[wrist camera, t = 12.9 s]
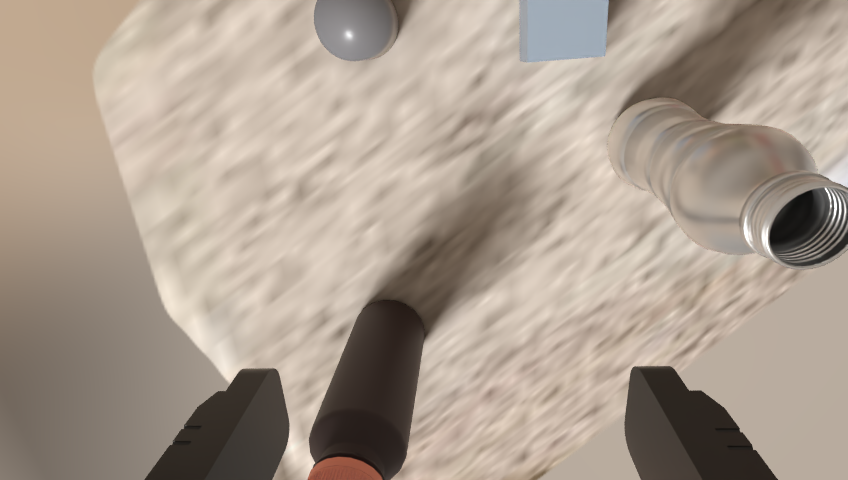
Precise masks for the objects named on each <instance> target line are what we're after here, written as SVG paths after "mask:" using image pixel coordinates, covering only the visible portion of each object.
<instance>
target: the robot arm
mask: <svg viewBox="0 0 848 480" xmlns="http://www.w3.org/2000/svg"><path fill="white" fill-rule="evenodd" d="M739 429H740V428H739V427H738V426H737V424H736V423H735V422H734V420H733V419H732V418H731V416H730V415H729V414H728V412H727V411H726V410H725V408H724V407H722V406H721V405H720V404H718V403H717V402H716V401H714V400H713V399H712V398H710V397H709V396H708V395H706V394H705V393H704V392H702V391H689V390H688V389H687V387H686V386H685V384H684V383H683V381H682V380H681V378H680V377H679V375H678V374H677V372H676V371H675V370H674V369H673V368H672V367H670V366H640V367H633V368H632V370H631V374H630V382H629V390H628V398H627V406H626V415H625V436H626V442H627V446H628V449H629V452H630V455H631V457H632V460H633V462H634V464H635V467H636V469H637V471H638V474H639V476H640V478H641V480H778V479H777V478H776V477H775V475H774V474H773V473H772V471H771V470H770V469H769V467H768V466H767V465H766V463H765V462H764V461H763V459H762V458H761V457H760V455H759V454H758V452H757V451H756V450H753V447H752V444H751V443H750V442H749V440H748V439H747V438H746V436H745V435H744V434H743V433H741V432H740V430H739ZM288 437H289V418H288V413H287V409H286V404H285V399H284V394H283V390H282V385H281V380H280V376H279V373H278V371H277V370H276V369H274V368H273V369H242V370H241V371H239V373H238V374H237V375H236V377H235V378H234V380H233V381H232V383H231V384H230V386H229V387H228V389H227V390H226V391H218V392H217V393H215V394H214V395H213V396H211V397H210V398H209V399H208V400H206V401H205V402H204V403H203V404H201V405H200V406H199V407H197V409H196V410H195V412H194V413H193V414H192V416H191V417H190V418H189V420H188V421H187V423H186V424H185V425H184V429H181V431H180V432H179V433H178V435H177V436H176V438H175V439H174V440H173V444H172V445H170V446H169V447H168V448H167V450H166V451H165V452H164V454H163V455H162V457H161V458H160V459H159V461H158V462H157V463H156V465H155V466H154V467H153V469H152V470H151V472H150V473H149V474H148V476H147V477H146V478H145V480H272V479H273V477H274V474H275V472H276V470H277V467H278V465H279V463H280V461H281V458H282V456H283V454H284V451H285V449H286V446H287V442H288Z"/></svg>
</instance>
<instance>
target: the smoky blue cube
mask: <svg viewBox="0 0 848 480" xmlns="http://www.w3.org/2000/svg"><path fill="white" fill-rule="evenodd" d="M608 3H609V0H520V61H523V62H539V61H552V60H564V59H577V58H589V57H602V56H605V53H606V37H607V20H608Z"/></svg>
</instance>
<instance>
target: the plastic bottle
mask: <svg viewBox="0 0 848 480" xmlns="http://www.w3.org/2000/svg"><path fill="white" fill-rule="evenodd" d="M607 151H608V156H609V160H610V162H611V165H612V167H613V169H614V171H615V173H616V174H617V175H618V176H619V178H620V179H622V180H623V181H624V182H625V183H627V184H629V185H631V186H634V187H636V188H638V189H641V190H645V191H648V192H650V193H652V194H654V195H655V196H656V197H657V198H659V200H660V201H661V202H662V203H663V204H664V205H665V206H666V207H667V209H668V210H669V212H670V213H671V215H672V217H673V218H674V220H675V221H676V223H677V224H678V226H679V227H680V228H681V229H682V231H683V232H684V233H685V234H686V235H687V236H688V237H689V238H690V239H691V240H692V241H694V242H695V243H696V244H697V245H700V246H702V247H704V248H706V249H709V250H713V251H717V252H721V253H725V254H730V255H745V254H752V253H758V254H760V255H762V256H764V257H766V258H770V259H771V260H773V261H774V262H776V263H778V264H780V265H782V266H785V267H787V268H791V269H798V270H806V269H813V268H817V267H821V266H823V265H826V264H828V263H830V262H832V261H834V260H835V259H837V258H838V257H840V256H841V255H842V254H843V253H845V252H846V251H847V250H848V188H847V187H845V186H843V185H841V184H838V183H835V182H832V181H831V180H829V179H828V178H826V177H824V176H822V175H820V174H818V169H817V167H816V164H815V161H814V159H813V157H812V156H811V154H810V153H809V151H808V150H807V149H806V148H805V147H804V146H803V145H802V144H801V143H800V142H799V141H798V140H797V139H796V138H795V137H793V136H792V135H791V134H789V133H787V132H785V131H783V130H781V129H777V128H773V127H769V126H762V125H752V124H724V123H719V122H714V121H709V120H707V119H705V118H703V117H702V116H700V115H699V114H698V113H697V112H696V111H695V110H693V109H692V108H691V107H690V106H688V105H687V104H685V103H683V102H681V101H679V100H677V99H673V98H664V97H659V98H653V99H648V100H643V101H641V102H638V103H636V104H634V105H632V106H631V107H629V108H628V109H626V110H625V111H624V112H623V113H622V114H621V115H620V116H619V117H618V119H617V120H616V121H615V123H614V125H613V126H612V128H611V131H610V134H609V137H608V143H607Z"/></svg>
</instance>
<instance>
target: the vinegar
mask: <svg viewBox="0 0 848 480" xmlns="http://www.w3.org/2000/svg"><path fill="white" fill-rule="evenodd" d="M423 343H424V327H423V324H422V321H421V318H420V317H419V316H418V315H417V313H416V312H415V311H414V310H413V309H411V308H410V307H409V306H407V305H406V304H403V303H400V302H397V301H390V300H383V301H378V302H374V303H372V304H371V305H369V306H367V307H366V308H364V309H363V311H362V312H361V313H360V314H359V315H358V317H357V320H356V322H355V325H354V327H353V329H352V332H351V334H350V337H349V339H348V342H347V344H346V347H345V349H344V351H343V354H342V356H341V359H340V361H339V364H338V366H337V368H336V371H335V373H334V376H333V378H332V381H331V383H330V385H329V388H328V390H327V393H326V395H325V398H324V400H323V402H322V405H321V407H320V410H319V412H318V415H317V417H316V419H315V422H314V424H313V427H312V430H311V433H310V437H309V445H310V453H311V455H312V457H313V459H314V461H315V464H314V466H313V469H312V470H311V472H310V474H309V477H308V480H390V479H391V478H392V477H393V476H394V475H396V474H397V473H398V472H399V471H400V469H401V468H402V465H403V463H404V461H405V458H406V455H407V448H408V442H409V435H410V429H411V422H412V415H413V409H414V402H415V396H416V389H417V382H418V376H419V369H420V363H421V356H422V349H423Z"/></svg>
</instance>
